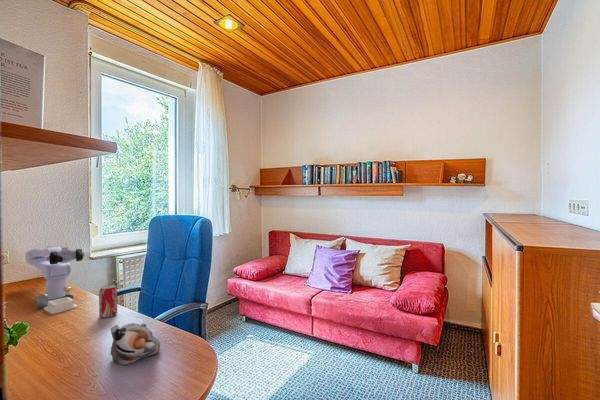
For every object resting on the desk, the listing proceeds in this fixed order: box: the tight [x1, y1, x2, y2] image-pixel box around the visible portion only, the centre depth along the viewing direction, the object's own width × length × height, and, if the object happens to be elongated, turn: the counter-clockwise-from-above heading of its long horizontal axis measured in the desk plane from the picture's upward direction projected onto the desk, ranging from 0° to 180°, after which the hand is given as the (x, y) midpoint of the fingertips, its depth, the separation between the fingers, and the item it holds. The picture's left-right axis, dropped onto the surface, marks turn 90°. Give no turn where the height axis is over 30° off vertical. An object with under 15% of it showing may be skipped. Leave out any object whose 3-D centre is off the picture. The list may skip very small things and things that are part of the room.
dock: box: [43, 293, 79, 315], centre depth 133 cm, size 12×11×3 cm
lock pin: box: [63, 285, 73, 297], centre depth 138 cm, size 3×3×4 cm
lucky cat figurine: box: [110, 322, 161, 366], centre depth 92 cm, size 15×12×14 cm
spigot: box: [36, 293, 50, 310], centre depth 133 cm, size 4×4×6 cm
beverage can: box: [98, 284, 118, 319], centre depth 124 cm, size 6×6×12 cm
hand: (72, 258), depth 135 cm, fingers open, 7 cm apart
